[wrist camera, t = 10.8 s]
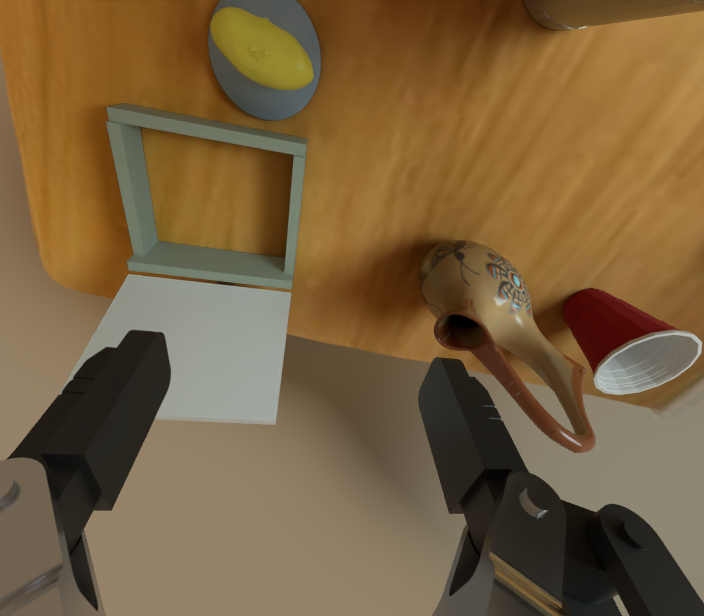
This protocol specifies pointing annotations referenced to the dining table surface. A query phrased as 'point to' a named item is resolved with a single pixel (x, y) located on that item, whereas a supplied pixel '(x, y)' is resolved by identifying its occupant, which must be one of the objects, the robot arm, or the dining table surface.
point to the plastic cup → (627, 343)
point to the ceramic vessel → (501, 331)
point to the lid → (205, 345)
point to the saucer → (251, 96)
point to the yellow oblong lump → (261, 49)
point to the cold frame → (140, 210)
